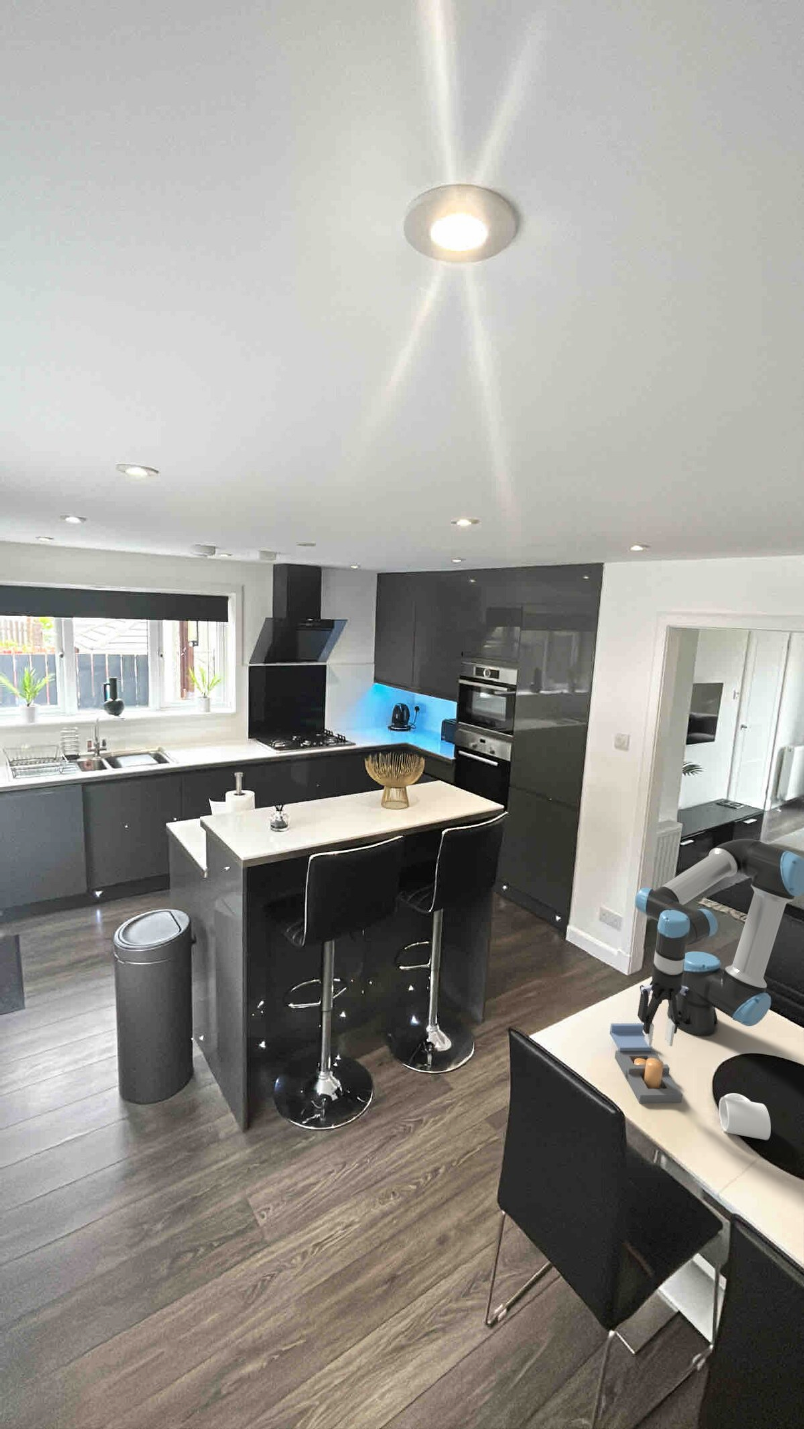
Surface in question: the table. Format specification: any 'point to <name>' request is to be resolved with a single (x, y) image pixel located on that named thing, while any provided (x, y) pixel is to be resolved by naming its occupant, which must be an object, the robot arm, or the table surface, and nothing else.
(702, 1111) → the table surface
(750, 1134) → the mug
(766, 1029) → the table surface
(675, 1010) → the robot arm
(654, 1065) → the pin
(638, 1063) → the housing
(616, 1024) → the lid
